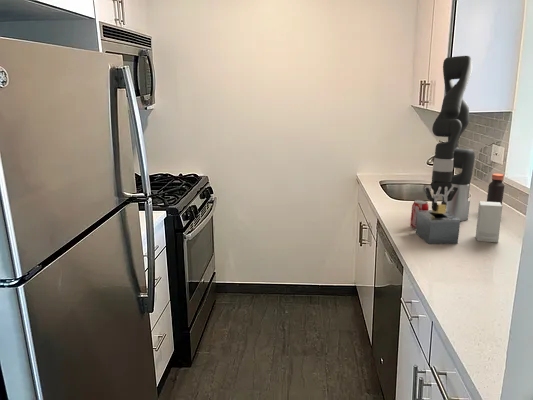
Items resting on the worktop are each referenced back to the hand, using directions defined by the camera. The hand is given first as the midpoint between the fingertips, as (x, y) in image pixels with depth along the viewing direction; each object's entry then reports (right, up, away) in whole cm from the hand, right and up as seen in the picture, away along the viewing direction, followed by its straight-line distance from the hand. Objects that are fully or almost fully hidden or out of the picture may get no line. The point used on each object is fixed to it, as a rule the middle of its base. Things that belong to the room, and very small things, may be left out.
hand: (438, 210), depth 189 cm
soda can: (-3, -8, +16) cm, 19 cm away
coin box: (0, -12, +3) cm, 12 cm away
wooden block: (0, -1, 0) cm, 1 cm away
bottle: (+40, -3, +36) cm, 54 cm away
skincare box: (+20, -12, +1) cm, 24 cm away
